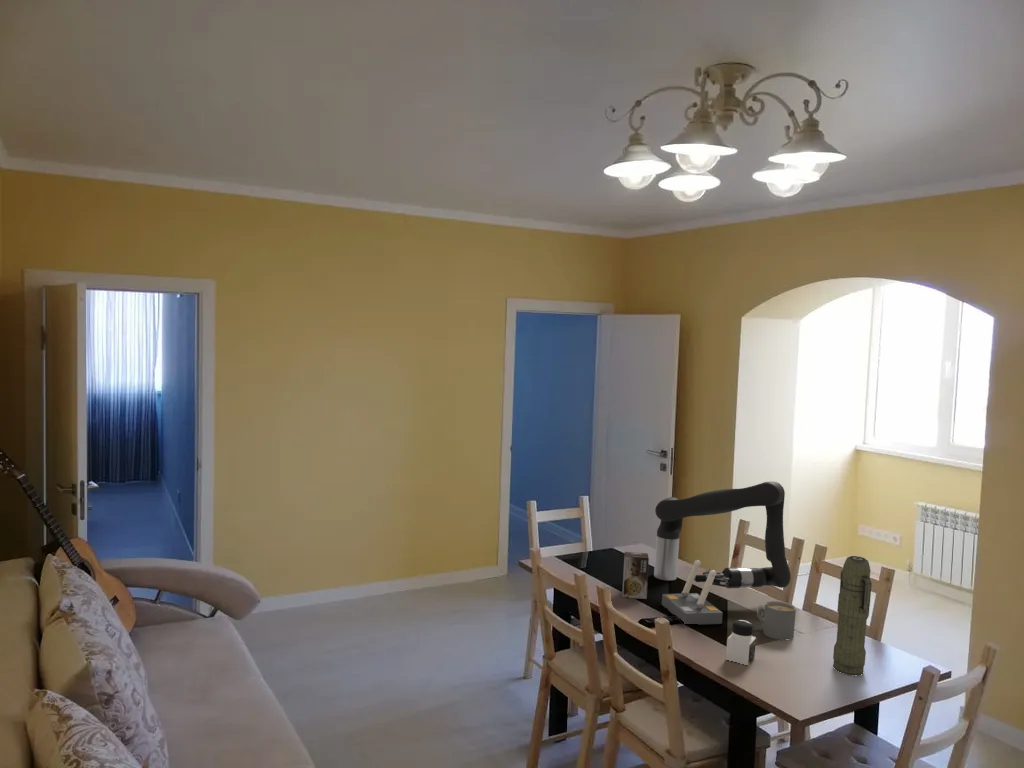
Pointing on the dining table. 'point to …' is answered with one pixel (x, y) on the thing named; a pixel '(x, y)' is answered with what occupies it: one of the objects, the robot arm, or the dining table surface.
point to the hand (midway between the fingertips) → (695, 578)
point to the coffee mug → (777, 619)
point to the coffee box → (635, 575)
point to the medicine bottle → (741, 643)
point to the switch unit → (691, 609)
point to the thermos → (852, 616)
